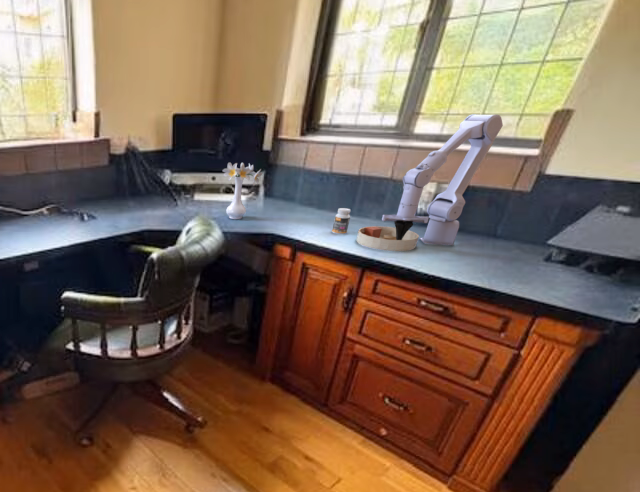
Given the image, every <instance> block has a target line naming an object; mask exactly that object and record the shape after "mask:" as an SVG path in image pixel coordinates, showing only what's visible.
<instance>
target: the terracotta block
mask: <svg viewBox="0 0 640 492" xmlns="http://www.w3.org/2000/svg"><path fill="white" fill-rule="evenodd" d="M372 226H373V225H372ZM374 226H375V225H374ZM374 226H373V227H371V226H365V227H366V229H365V233H364V234H365V235H367V236H371V237H375V238H379V237H380V234H381V230H382V229H381V228H378V227H374Z"/></svg>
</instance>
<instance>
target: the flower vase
mask: <svg viewBox="0 0 640 492" xmlns="http://www.w3.org/2000/svg"><path fill="white" fill-rule="evenodd" d="M237 165H238V162H235V163H234V164H232V163H231V162H228V163H227V167H226V168H223V169H221V170H222V172H223V177H227V180H228V182H229V181H231V180H232V178H233V177H234V183H235V184H234V185H235V186H234V193H233V197H232V198H233V199H232V201H231V203H230V204H229V205H228V206H227V207H226V210H225V212H226V214H227V215H228V218H229V219H230V220H241V219H243V216H245V214H246V212H247V209H246V207H245V205H244V204H243V201H242V187H243V182H244V180H245V179H246V180H248V181H250V180H251V177H252V179H253V185H252V186H253V187H254V186H255V185H258V184H259V181H260V179H259V178H260V177H261V176H262V175H263V172H261V171H262V168H260V169H259V170H257V172H255V171H254V164H252V165H251V164H250V163H248V166H246V167H245V163H244V162H241V163H240V168H238V167H237ZM250 176H251V177H250Z"/></svg>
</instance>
